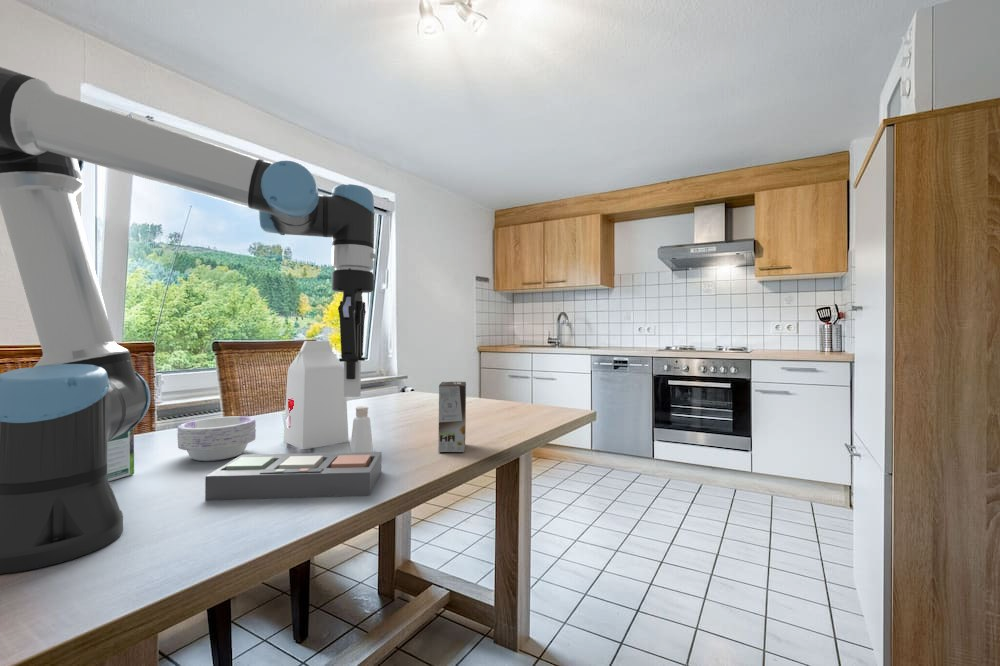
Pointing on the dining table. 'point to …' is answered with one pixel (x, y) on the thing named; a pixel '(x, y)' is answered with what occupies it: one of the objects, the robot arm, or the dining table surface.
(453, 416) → the coffee box
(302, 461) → the cream key
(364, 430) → the pepper shaker
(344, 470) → the keypad
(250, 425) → the paper bowls
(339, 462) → the terracotta key
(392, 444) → the dining table surface
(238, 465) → the sage key
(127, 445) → the syrup box
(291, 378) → the milk
